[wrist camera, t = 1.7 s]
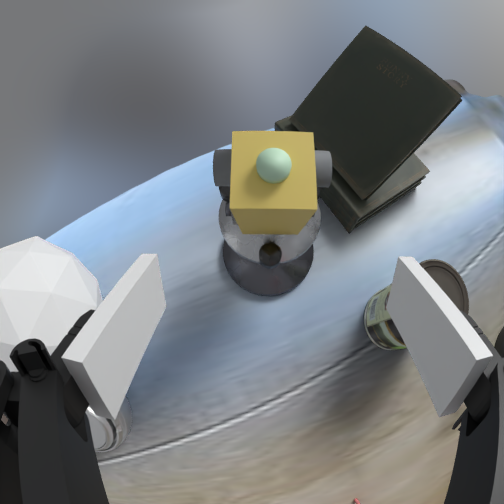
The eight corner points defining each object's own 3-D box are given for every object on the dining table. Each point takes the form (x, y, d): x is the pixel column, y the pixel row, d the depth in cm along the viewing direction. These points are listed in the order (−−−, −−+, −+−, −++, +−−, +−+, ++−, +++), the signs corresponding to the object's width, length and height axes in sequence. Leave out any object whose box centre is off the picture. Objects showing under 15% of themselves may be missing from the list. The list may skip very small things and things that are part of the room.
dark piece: (273, 144, 54) (276, 32, 31) (346, 114, 57) (370, 20, 33) (348, 234, 47) (407, 134, 23) (417, 188, 50) (478, 101, 26)
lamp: (88, 213, 43) (-7, 193, 20) (188, 383, 45) (156, 475, 21) (15, 276, 43) (-70, 289, 19) (101, 421, 44) (49, 492, 21)
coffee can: (423, 341, 39) (476, 330, 26) (369, 357, 39) (413, 355, 26) (411, 282, 43) (457, 253, 30) (357, 293, 43) (394, 266, 30)
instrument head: (311, 234, 31) (341, 207, 19) (228, 234, 32) (205, 206, 19) (309, 182, 32) (334, 128, 19) (230, 181, 32) (210, 127, 19)
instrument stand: (314, 295, 43) (343, 258, 27) (221, 295, 44) (197, 257, 27) (309, 213, 48) (329, 145, 32) (226, 212, 49) (210, 144, 32)
